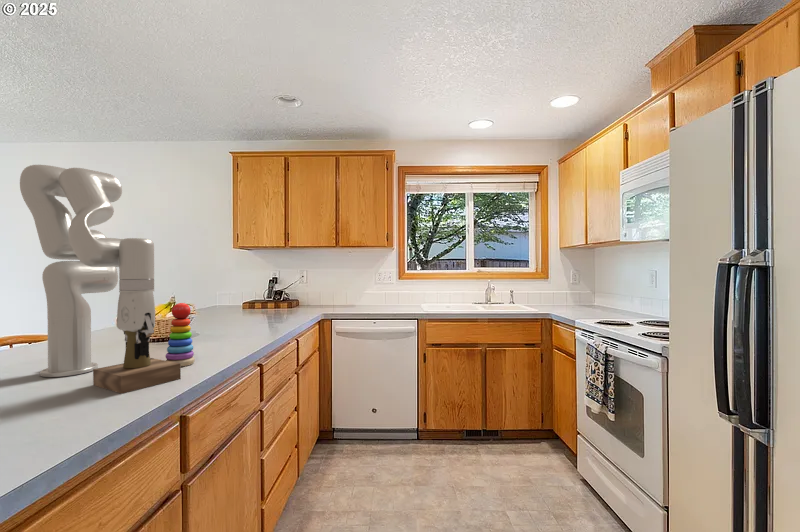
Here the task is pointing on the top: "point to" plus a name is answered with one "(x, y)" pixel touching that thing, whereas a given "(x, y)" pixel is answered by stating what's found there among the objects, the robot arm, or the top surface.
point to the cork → (130, 353)
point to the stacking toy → (180, 337)
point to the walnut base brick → (136, 376)
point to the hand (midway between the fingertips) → (137, 356)
